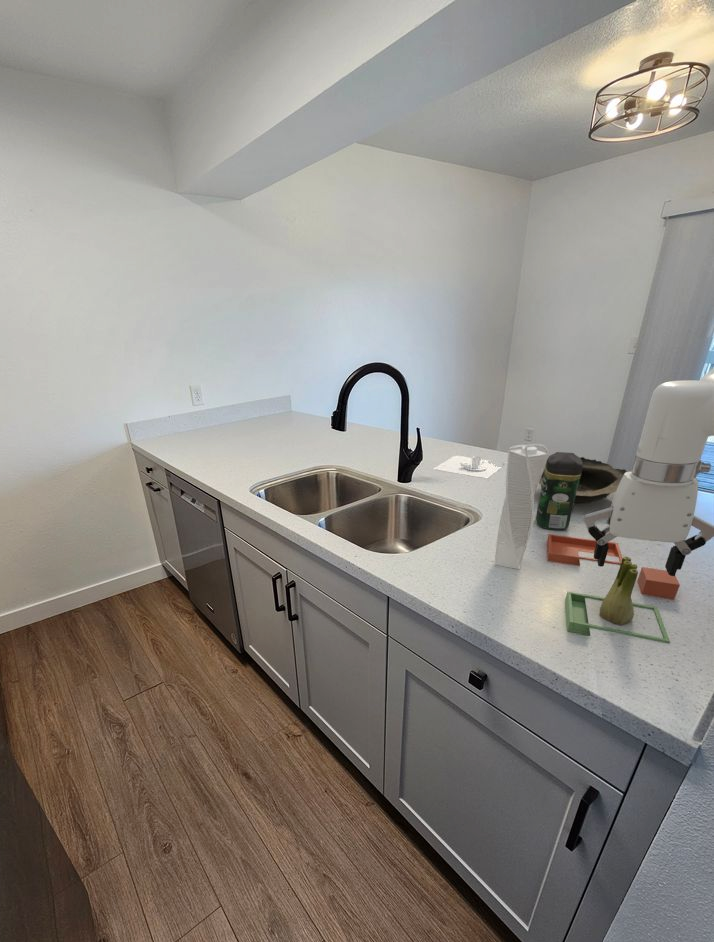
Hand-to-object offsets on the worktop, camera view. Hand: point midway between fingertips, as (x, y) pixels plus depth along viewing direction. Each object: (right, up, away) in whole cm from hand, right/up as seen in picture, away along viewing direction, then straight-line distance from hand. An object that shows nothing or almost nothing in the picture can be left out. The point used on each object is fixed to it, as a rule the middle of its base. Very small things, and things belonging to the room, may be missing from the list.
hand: (633, 567), depth 73 cm
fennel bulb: (0, -10, +5) cm, 12 cm away
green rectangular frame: (0, -10, +6) cm, 12 cm away
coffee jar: (+10, +9, +42) cm, 44 cm away
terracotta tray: (+8, +1, +27) cm, 28 cm away
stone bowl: (+24, +17, +57) cm, 64 cm away
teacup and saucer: (+5, +32, +88) cm, 94 cm away
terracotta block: (+12, -7, +12) cm, 18 cm away
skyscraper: (-9, -1, +26) cm, 28 cm away
